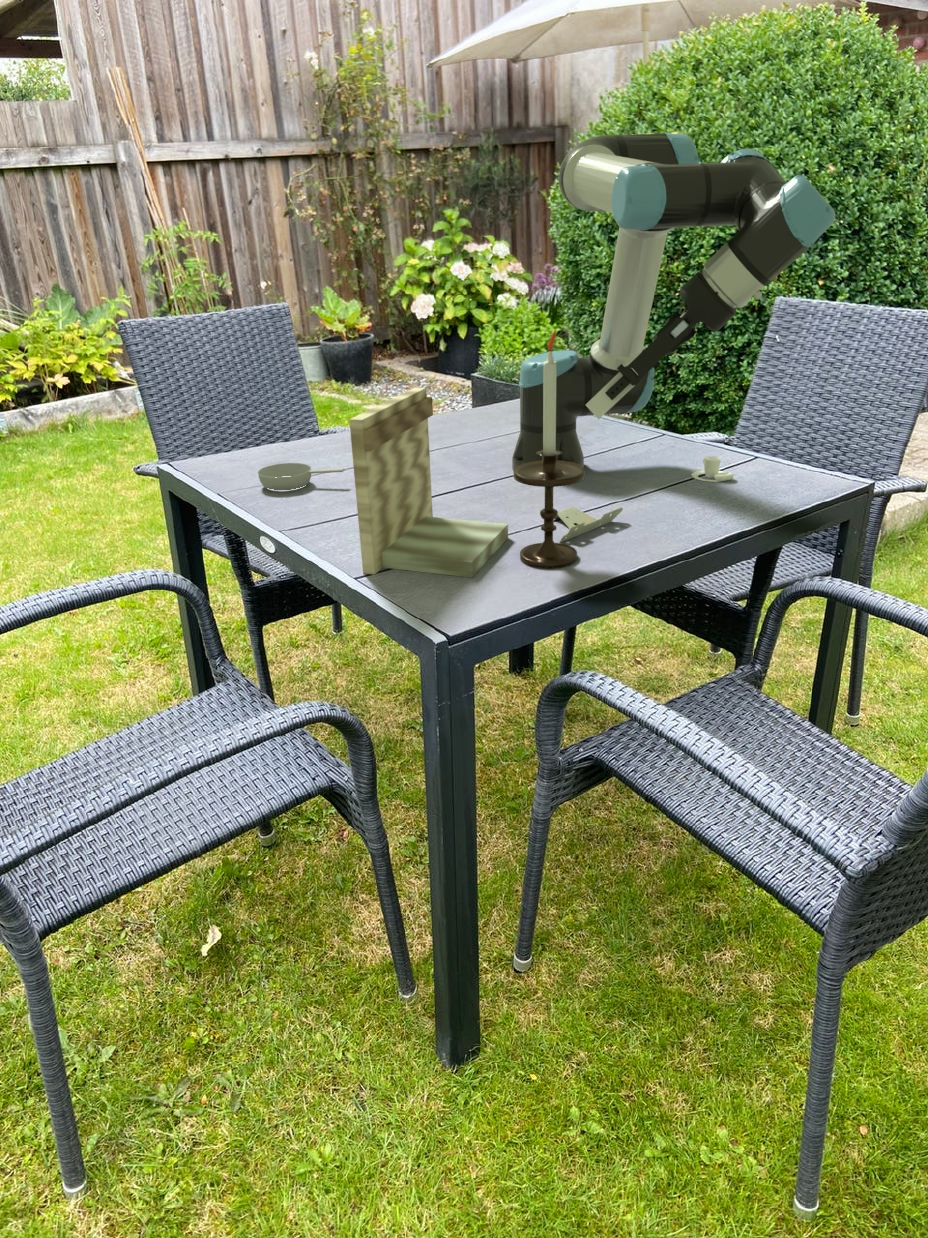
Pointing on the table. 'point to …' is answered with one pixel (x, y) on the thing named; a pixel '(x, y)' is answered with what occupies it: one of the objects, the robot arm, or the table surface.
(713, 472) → the teacup and saucer
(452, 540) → the pale wooden blocky structure
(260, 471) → the small pan
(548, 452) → the candlestick
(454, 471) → the table surface
